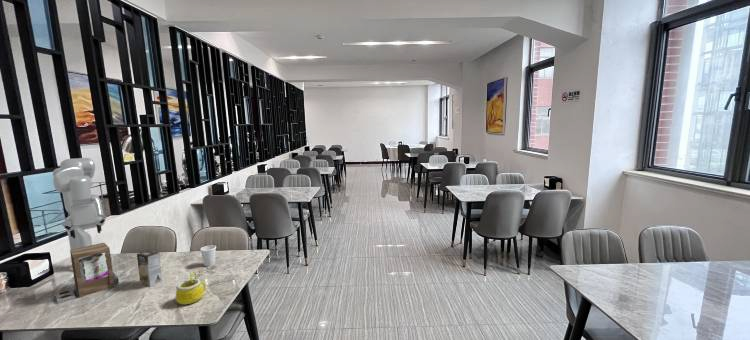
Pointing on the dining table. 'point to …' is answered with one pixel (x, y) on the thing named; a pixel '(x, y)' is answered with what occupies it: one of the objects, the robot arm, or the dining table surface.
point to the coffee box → (149, 267)
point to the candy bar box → (93, 267)
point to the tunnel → (94, 284)
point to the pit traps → (64, 296)
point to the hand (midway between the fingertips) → (86, 235)
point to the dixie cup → (208, 255)
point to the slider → (114, 283)
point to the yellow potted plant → (190, 290)
